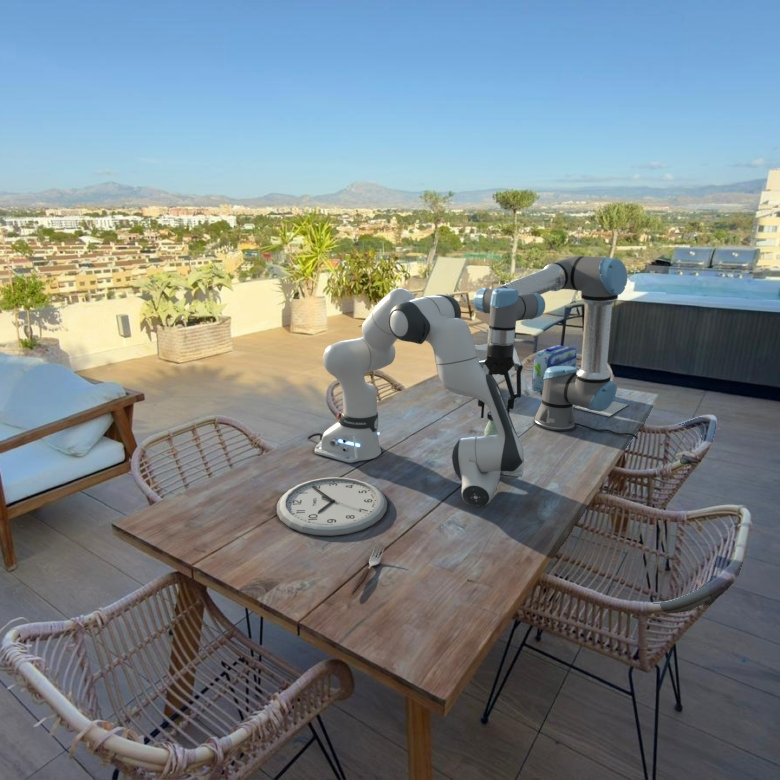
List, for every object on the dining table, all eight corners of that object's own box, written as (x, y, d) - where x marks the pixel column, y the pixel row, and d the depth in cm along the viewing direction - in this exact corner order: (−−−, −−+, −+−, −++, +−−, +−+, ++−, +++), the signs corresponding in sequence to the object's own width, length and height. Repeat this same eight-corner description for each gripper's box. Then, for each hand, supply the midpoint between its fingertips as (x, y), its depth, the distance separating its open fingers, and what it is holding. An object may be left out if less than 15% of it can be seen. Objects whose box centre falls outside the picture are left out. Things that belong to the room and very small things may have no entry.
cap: (501, 416, 160) (501, 411, 160) (503, 421, 156) (504, 416, 155) (486, 415, 160) (486, 410, 160) (488, 420, 156) (488, 415, 156)
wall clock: (392, 527, 129) (268, 531, 127) (391, 533, 130) (269, 537, 127) (383, 473, 158) (282, 475, 155) (383, 478, 158) (282, 480, 156)
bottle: (496, 478, 160) (501, 419, 154) (479, 474, 162) (483, 416, 157) (501, 471, 165) (506, 413, 159) (484, 467, 167) (489, 410, 161)
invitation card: (608, 416, 214) (573, 407, 224) (608, 416, 214) (573, 408, 224) (628, 404, 229) (594, 396, 238) (628, 405, 229) (594, 397, 238)
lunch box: (548, 398, 236) (553, 353, 229) (527, 393, 243) (531, 349, 237) (575, 387, 253) (581, 344, 247) (555, 382, 260) (560, 341, 254)
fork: (346, 594, 108) (346, 586, 107) (374, 552, 122) (374, 544, 122) (357, 598, 107) (357, 589, 107) (385, 554, 121) (385, 547, 121)
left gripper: (523, 467, 146) (527, 448, 158) (451, 456, 152) (460, 439, 165) (521, 487, 148) (525, 467, 160) (450, 476, 154) (459, 457, 166)
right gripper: (535, 342, 153) (527, 416, 160) (467, 338, 157) (462, 410, 163) (536, 347, 146) (528, 424, 153) (465, 343, 150) (461, 419, 156)
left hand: (492, 453), depth 162 cm, fingers closed on bottle, 5 cm apart
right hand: (494, 417), depth 158 cm, fingers open, 7 cm apart
